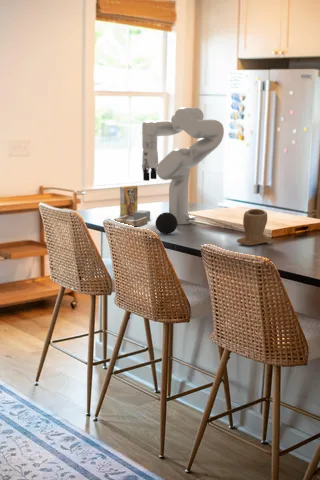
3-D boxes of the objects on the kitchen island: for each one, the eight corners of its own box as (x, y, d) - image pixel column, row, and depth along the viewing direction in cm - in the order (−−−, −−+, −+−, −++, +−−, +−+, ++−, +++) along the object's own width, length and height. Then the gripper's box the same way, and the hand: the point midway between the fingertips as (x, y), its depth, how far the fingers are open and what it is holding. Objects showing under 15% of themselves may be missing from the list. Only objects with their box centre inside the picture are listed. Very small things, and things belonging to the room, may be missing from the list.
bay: (147, 223, 358) (147, 217, 358) (135, 227, 347) (135, 220, 347) (125, 221, 363) (125, 215, 363) (114, 225, 352) (113, 219, 352)
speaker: (154, 232, 334) (154, 211, 332) (176, 231, 334) (176, 210, 333) (156, 236, 324) (156, 214, 322) (178, 236, 325) (178, 214, 323)
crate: (150, 220, 369) (150, 210, 368) (143, 222, 361) (143, 213, 360) (139, 219, 371) (139, 210, 370) (133, 221, 364) (132, 212, 363)
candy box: (133, 213, 388) (132, 185, 385) (138, 214, 385) (137, 186, 382) (119, 215, 382) (119, 186, 379) (124, 216, 379) (124, 187, 376)
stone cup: (252, 248, 297) (253, 212, 295) (232, 244, 307) (233, 209, 304) (278, 244, 306) (279, 209, 303) (258, 240, 316) (259, 206, 313)
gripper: (149, 146, 358) (149, 181, 362) (163, 144, 374) (163, 178, 377) (135, 146, 362) (135, 181, 365) (150, 144, 377) (150, 177, 380)
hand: (149, 179), depth 371 cm, fingers open, 7 cm apart
